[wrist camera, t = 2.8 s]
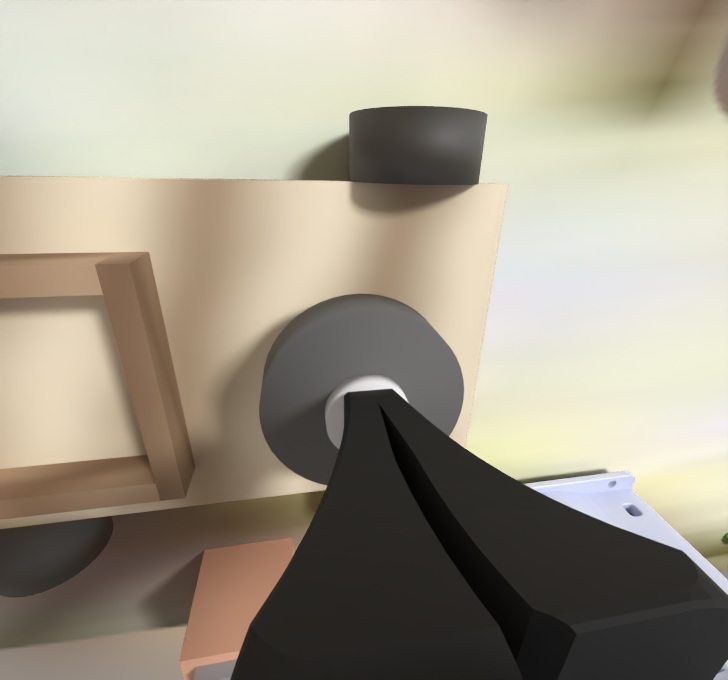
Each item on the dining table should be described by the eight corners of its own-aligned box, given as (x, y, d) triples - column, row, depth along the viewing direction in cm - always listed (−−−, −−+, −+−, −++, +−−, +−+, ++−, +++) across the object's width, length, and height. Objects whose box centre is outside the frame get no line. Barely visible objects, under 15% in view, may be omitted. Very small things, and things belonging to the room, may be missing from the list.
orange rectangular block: (292, 536, 20) (293, 657, 15) (297, 589, 22) (299, 713, 17) (204, 548, 20) (174, 680, 15) (216, 602, 21) (194, 735, 16)
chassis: (481, 126, 13) (550, 112, 10) (437, 465, 20) (470, 530, 16) (-213, 98, 10) (-487, 61, 7) (4, 515, 17) (-75, 611, 13)
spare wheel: (454, 290, 12) (487, 315, 10) (435, 445, 14) (459, 489, 12) (253, 297, 11) (245, 326, 9) (271, 462, 13) (267, 514, 11)
